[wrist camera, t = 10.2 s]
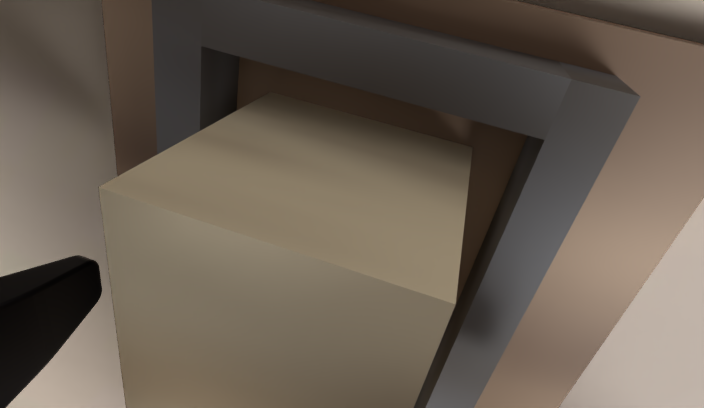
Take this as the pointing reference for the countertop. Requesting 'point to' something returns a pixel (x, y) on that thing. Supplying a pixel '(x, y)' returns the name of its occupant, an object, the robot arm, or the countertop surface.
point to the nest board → (467, 129)
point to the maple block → (285, 261)
